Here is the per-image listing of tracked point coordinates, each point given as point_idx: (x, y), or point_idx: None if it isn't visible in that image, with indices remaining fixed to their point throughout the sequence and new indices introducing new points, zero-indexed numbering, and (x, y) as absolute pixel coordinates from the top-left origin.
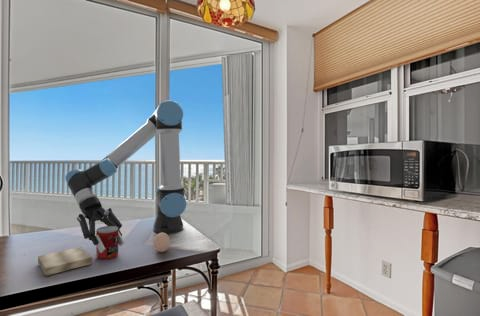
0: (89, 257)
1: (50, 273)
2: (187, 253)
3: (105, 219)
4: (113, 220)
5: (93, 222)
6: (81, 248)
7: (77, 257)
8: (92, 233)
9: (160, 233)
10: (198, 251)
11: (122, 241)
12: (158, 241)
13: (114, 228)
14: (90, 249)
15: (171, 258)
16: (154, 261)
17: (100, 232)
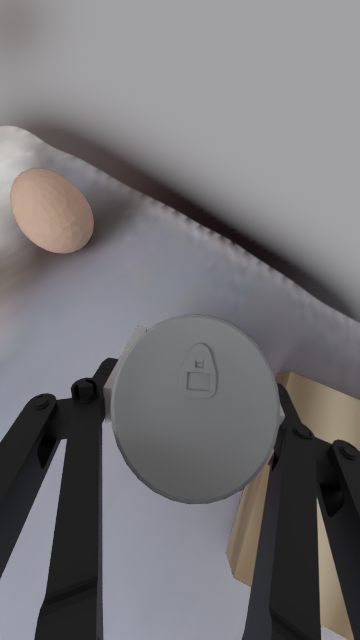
0: (300, 377)
1: None
2: (65, 168)
3: (99, 565)
4: (11, 512)
5: (293, 581)
6: (249, 543)
7: (330, 431)
8: (311, 440)
9: (39, 179)
10: (40, 151)
11: (144, 331)
12: (81, 198)
13: (150, 364)
14: (153, 568)
15: (117, 187)
16: (156, 214)
17: (273, 385)
